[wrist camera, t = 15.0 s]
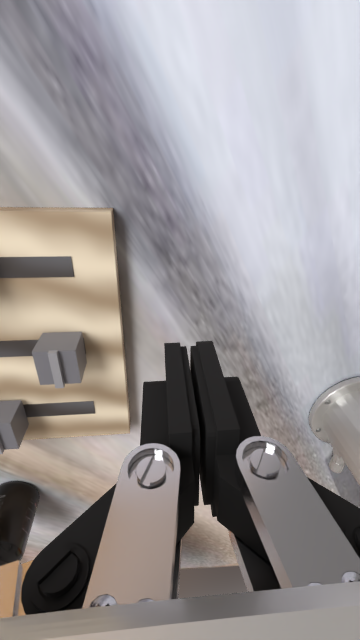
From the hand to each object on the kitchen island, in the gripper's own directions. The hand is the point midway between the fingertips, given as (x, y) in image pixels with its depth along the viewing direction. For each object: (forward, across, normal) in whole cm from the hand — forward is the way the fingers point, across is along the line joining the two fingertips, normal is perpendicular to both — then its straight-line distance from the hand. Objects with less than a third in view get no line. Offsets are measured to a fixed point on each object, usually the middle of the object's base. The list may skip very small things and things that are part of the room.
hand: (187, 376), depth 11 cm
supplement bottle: (+23, +24, +38) cm, 51 cm away
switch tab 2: (+20, +11, +11) cm, 26 cm away
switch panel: (+22, +15, +11) cm, 29 cm away
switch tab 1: (+20, +20, +20) cm, 34 cm away
